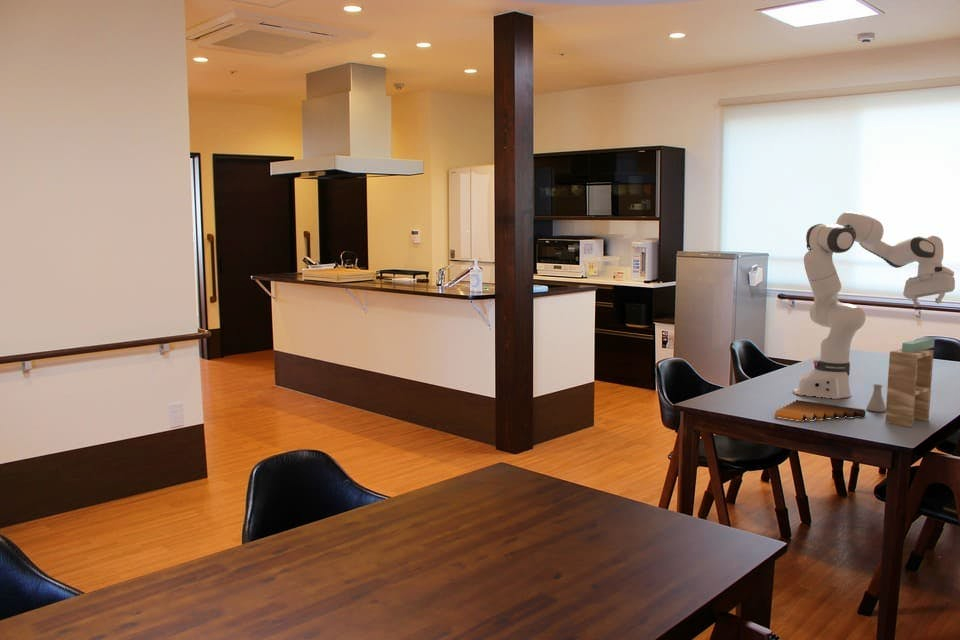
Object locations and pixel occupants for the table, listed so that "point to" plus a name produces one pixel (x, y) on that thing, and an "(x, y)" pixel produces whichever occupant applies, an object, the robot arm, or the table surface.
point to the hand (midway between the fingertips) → (927, 304)
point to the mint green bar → (918, 345)
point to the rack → (909, 386)
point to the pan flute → (816, 411)
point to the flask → (876, 400)
